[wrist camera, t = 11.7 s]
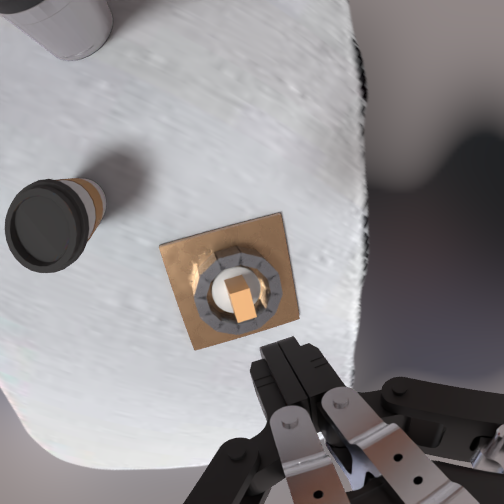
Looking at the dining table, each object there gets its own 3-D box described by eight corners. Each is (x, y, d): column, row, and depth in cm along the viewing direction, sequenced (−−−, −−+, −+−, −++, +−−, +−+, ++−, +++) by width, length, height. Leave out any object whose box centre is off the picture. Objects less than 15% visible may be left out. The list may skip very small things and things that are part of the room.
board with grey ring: (159, 245, 40) (157, 254, 37) (278, 212, 43) (288, 218, 39) (194, 346, 46) (196, 362, 42) (297, 315, 48) (307, 328, 44)
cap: (205, 272, 42) (210, 290, 37) (252, 258, 43) (263, 273, 38) (218, 314, 44) (224, 335, 39) (262, 300, 45) (274, 319, 40)
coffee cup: (82, 248, 38) (42, 296, 24) (43, 201, 35) (-15, 228, 21) (127, 206, 38) (102, 236, 24) (87, 156, 35) (40, 160, 21)
